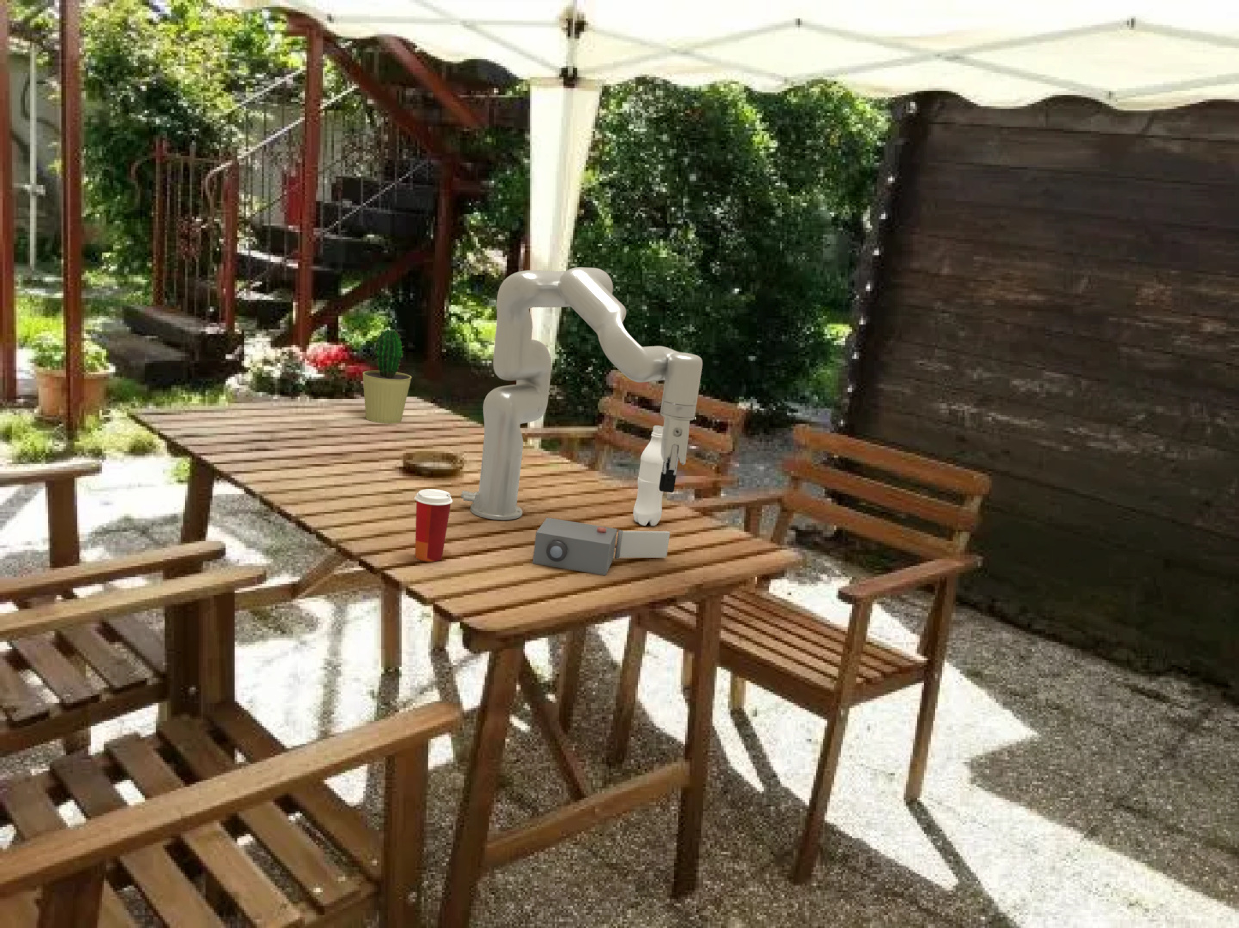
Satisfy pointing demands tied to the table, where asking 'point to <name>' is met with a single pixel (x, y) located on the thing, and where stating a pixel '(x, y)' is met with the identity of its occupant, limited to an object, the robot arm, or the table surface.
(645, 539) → the side door
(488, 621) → the table surface
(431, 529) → the paper cup
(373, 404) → the potted cactus
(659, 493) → the water bottle
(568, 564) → the camera body
